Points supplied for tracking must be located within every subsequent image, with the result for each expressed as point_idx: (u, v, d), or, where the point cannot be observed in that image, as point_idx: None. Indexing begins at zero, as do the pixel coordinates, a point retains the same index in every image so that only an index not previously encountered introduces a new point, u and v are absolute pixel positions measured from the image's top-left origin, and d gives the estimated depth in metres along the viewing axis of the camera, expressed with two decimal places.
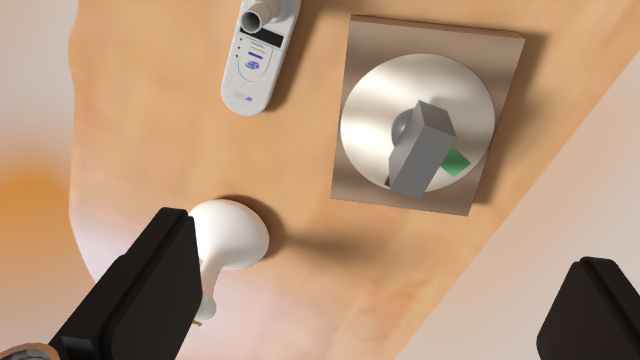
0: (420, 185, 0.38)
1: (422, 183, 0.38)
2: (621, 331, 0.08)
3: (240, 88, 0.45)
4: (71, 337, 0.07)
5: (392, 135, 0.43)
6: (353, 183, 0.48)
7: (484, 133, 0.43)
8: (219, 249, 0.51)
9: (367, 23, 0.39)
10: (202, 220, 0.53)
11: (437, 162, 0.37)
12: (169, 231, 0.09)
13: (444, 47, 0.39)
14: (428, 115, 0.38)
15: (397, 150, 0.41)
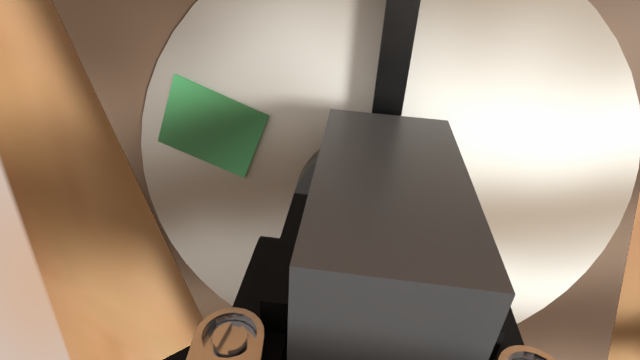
0: (329, 345, 0.06)
1: (323, 355, 0.07)
2: None
3: None
4: (269, 302, 0.08)
5: None
6: None
7: (185, 227, 0.16)
8: None
9: None
10: None
11: None
12: None
13: None
14: None
15: None
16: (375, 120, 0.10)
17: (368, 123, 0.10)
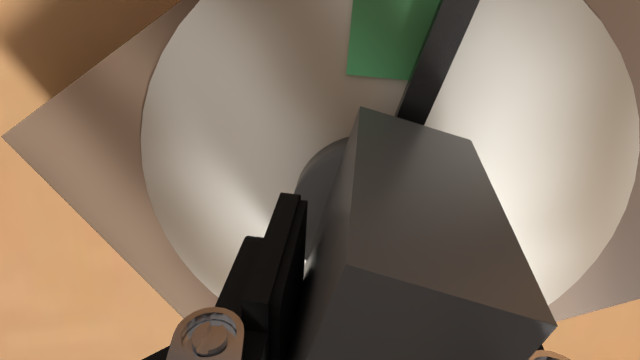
0: (357, 346, 0.06)
1: (347, 356, 0.06)
2: None
3: None
4: (250, 301, 0.08)
5: None
6: None
7: (234, 13, 0.11)
8: None
9: None
10: None
11: None
12: (295, 213, 0.10)
13: (164, 262, 0.17)
14: None
15: None
16: (404, 126, 0.10)
17: (398, 128, 0.10)
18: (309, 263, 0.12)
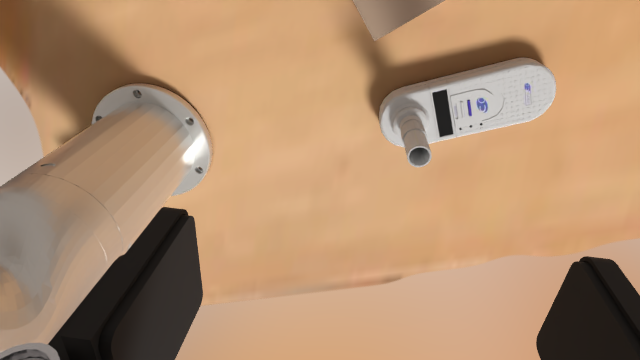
0: None
1: None
2: (621, 331, 0.08)
3: (518, 101, 0.36)
4: (71, 337, 0.07)
5: None
6: None
7: None
8: None
9: (365, 22, 0.33)
10: None
11: None
12: (169, 231, 0.09)
13: None
14: None
15: None
16: None
17: None
18: None
